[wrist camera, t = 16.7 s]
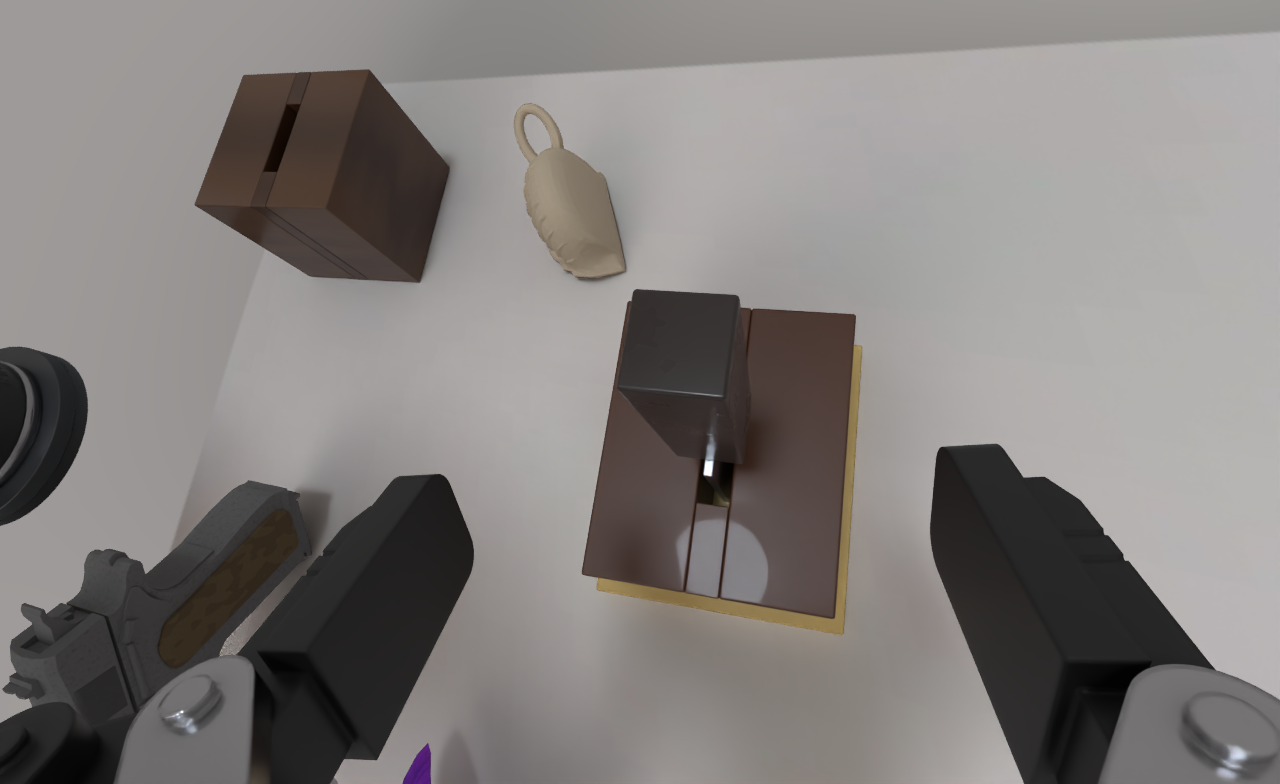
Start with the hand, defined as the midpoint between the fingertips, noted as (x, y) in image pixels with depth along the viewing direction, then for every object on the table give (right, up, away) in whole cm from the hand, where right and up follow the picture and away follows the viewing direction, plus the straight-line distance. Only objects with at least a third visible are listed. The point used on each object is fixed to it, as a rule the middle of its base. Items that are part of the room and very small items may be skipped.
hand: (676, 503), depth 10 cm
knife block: (-17, +13, +28) cm, 35 cm away
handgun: (-21, -13, +21) cm, 33 cm away
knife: (+4, -2, +18) cm, 18 cm away
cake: (+4, -2, +19) cm, 19 cm away
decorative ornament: (-4, +12, +25) cm, 27 cm away
